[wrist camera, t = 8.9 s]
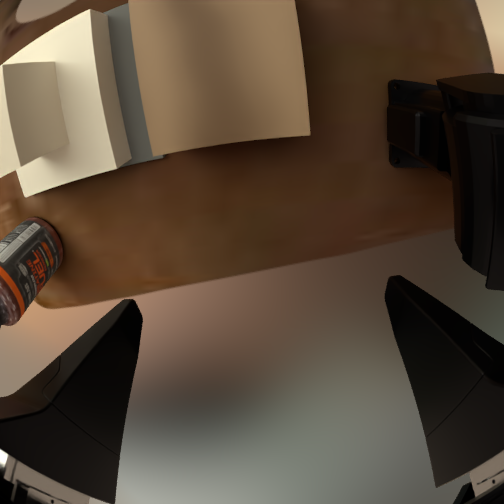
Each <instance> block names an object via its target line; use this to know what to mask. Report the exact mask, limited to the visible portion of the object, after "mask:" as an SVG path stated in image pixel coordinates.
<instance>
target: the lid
mask: <svg viewBox="0 0 504 504" xmlns="http://www.w3.org/2000/svg"><path fill="white" fill-rule="evenodd" d="M130 159H132V157H131V153H130V149H129V145H128V140H127V136H126V131H125V127H124V122H123V117H122V112H121V107H120V102H119V96H118V91H117V85H116V79H115V73H114V66H113V59H112V52H111V44H110V36H109V26H108V15H105V14H103V13H100V12H97V11H94V10H91V9H89V10H87V11H85V12H83V13H81V14H79V15H77V16H75V17H73V18H71V19H69V20H68V21H66V22H64V23H62V24H60V25H59V26H57V27H55V28H54V29H52V30H50V31H49V32H47V33H45V34H44V35H42V36H41V37H39V38H38V39H36V40H35V41H33V42H32V43H30V44H29V45H27V46H26V47H25V48H23V49H22V50H20V51H19V52H18V53H16V54H15V55H14V56H12V57H11V58H10V59H8V60H7V61H6V62H5V63H3V64H2V65H1V66H0V178H1V177H3V176H4V175H6V174H8V173H10V172H12V171H14V170H16V171H17V174H18V178H19V181H20V184H21V187H22V190H23V193H24V196H25V197H28V196H31V195H33V194H36V193H39V192H42V191H45V190H47V189H50V188H53V187H56V186H59V185H62V184H66V183H69V182H72V181H75V180H78V179H82V178H85V177H89V176H92V175H96V174H99V173H103V172H106V171H110V170H114V169H117V168H119V167H120V166H122V165H123V164H124V163H126V162H127V161H129V160H130Z"/></svg>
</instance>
